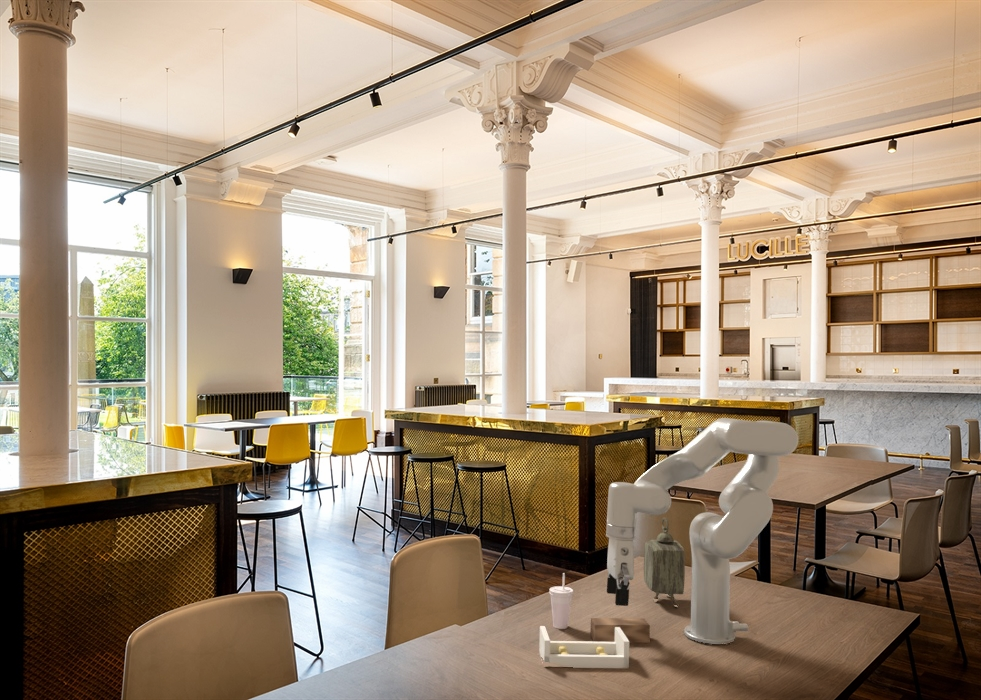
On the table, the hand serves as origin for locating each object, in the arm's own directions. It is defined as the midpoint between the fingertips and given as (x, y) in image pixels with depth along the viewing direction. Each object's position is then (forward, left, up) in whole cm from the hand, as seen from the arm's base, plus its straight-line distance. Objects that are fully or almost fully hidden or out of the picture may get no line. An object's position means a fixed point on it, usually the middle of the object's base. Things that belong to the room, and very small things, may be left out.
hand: (617, 599), depth 179 cm
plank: (-1, 0, -10) cm, 10 cm away
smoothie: (+13, -8, -10) cm, 18 cm away
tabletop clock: (-21, -30, -10) cm, 38 cm away
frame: (+11, +14, -10) cm, 20 cm away
